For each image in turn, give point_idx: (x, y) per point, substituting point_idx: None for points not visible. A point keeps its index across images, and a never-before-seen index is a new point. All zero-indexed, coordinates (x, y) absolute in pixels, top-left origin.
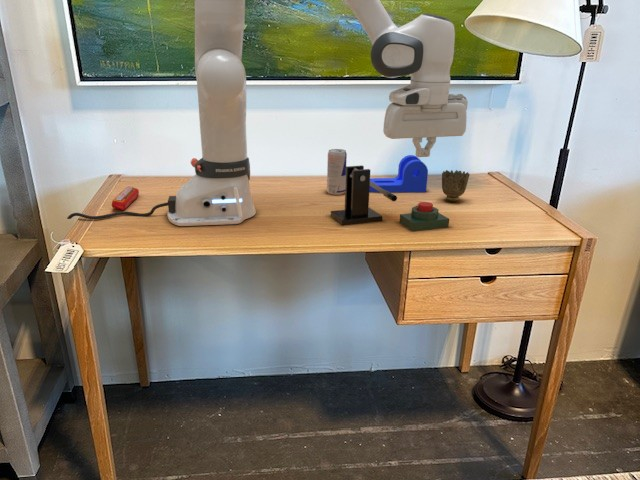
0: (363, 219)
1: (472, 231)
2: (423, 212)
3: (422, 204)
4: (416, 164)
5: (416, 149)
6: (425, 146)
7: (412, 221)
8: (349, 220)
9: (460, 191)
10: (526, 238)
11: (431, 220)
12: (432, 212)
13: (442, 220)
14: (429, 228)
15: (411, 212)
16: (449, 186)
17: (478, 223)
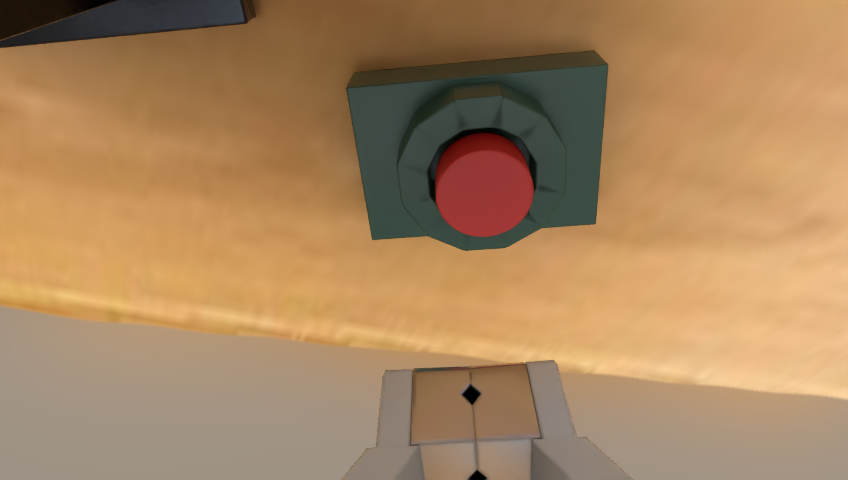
0: (120, 34)
1: (659, 270)
2: (444, 229)
3: (458, 201)
4: None
5: (378, 446)
6: (546, 465)
7: (375, 222)
8: (27, 43)
9: None
10: (807, 376)
11: None
12: (496, 239)
13: (551, 224)
14: None
15: (398, 155)
16: None
17: (781, 178)
